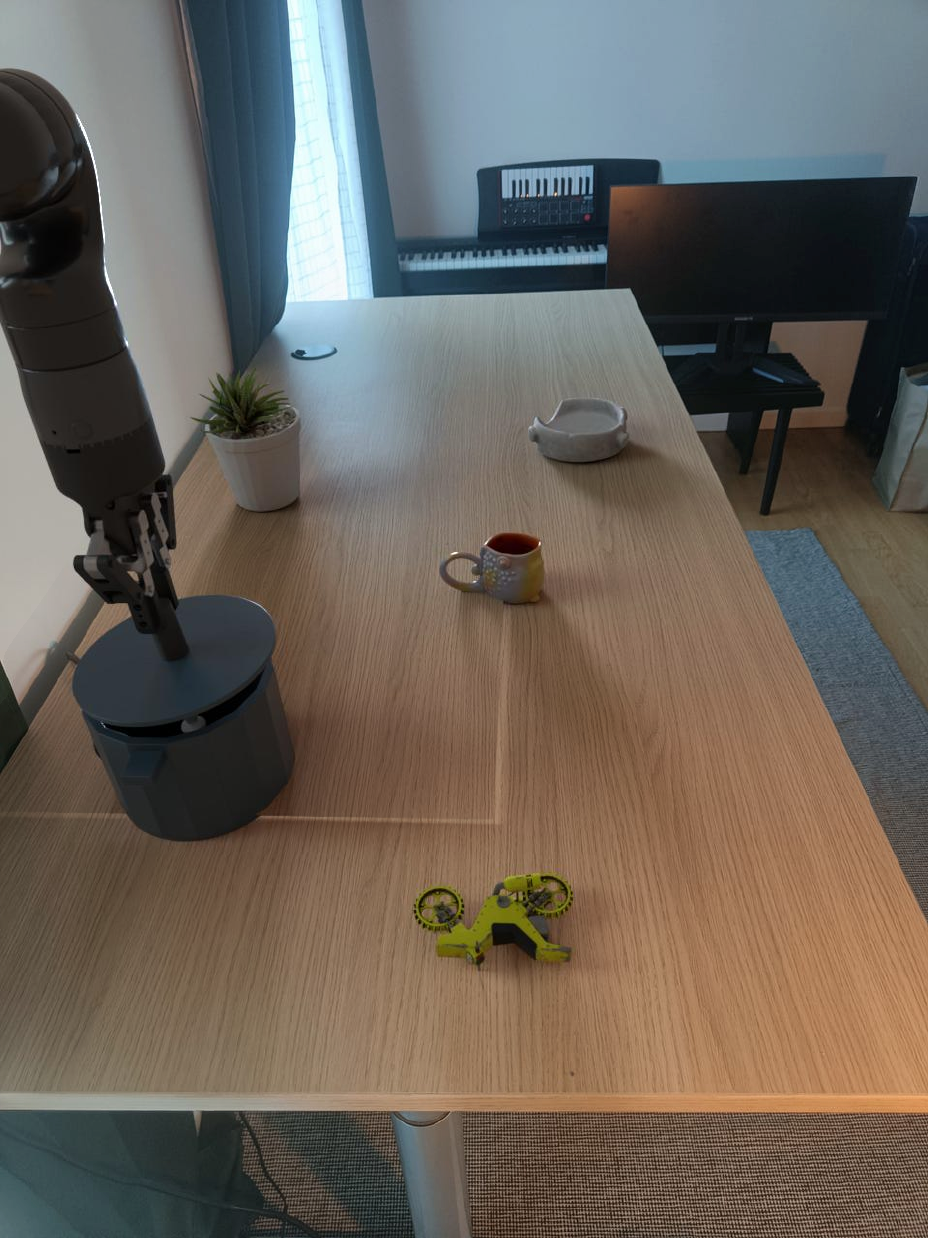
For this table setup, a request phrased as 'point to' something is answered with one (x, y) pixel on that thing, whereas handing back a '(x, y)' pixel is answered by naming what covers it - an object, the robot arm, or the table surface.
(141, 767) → the pot
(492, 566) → the mug
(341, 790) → the table surface
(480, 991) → the table surface
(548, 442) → the dish
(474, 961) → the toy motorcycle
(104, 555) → the robot arm
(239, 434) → the potted plant
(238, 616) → the lid
